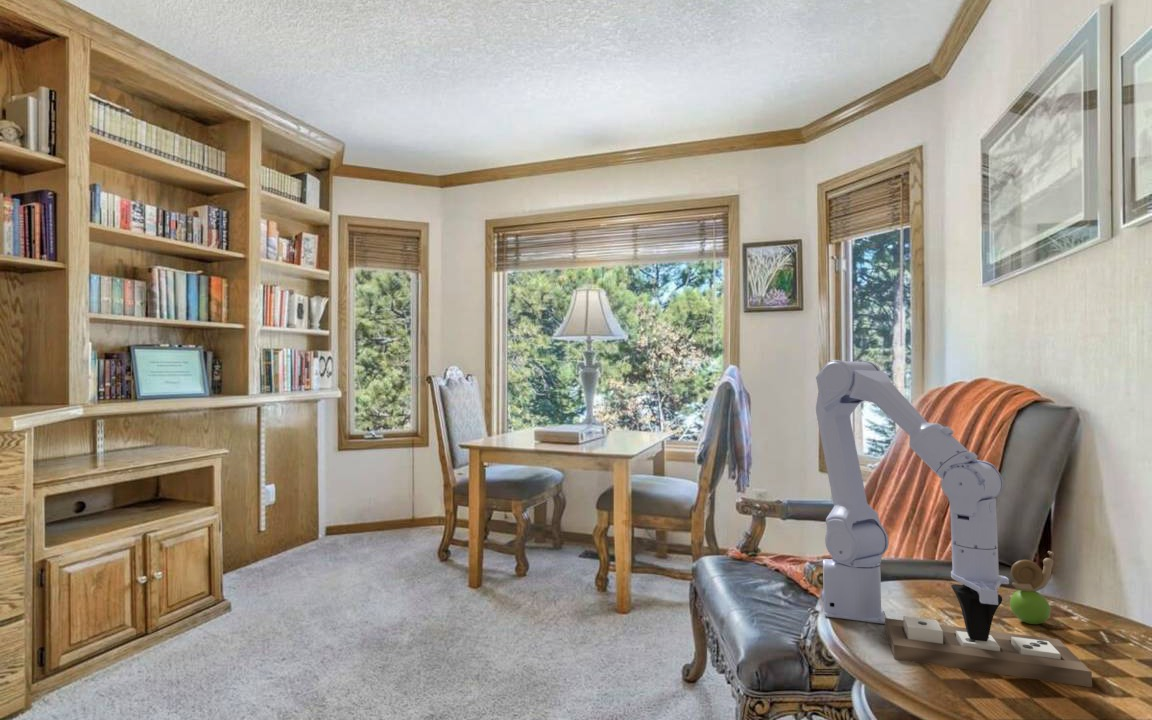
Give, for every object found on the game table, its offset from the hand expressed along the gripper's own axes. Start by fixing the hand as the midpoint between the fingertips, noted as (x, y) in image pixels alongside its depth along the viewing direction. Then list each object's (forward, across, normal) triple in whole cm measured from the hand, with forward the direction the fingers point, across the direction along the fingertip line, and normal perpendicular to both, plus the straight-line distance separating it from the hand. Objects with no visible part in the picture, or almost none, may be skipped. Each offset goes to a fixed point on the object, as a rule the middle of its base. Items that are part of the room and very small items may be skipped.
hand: (977, 638), depth 88 cm
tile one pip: (+1, 0, +7) cm, 7 cm away
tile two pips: (+3, 0, 0) cm, 3 cm away
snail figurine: (+3, +18, -12) cm, 22 cm away
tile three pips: (+2, 0, -7) cm, 7 cm away
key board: (+2, 0, 0) cm, 3 cm away
